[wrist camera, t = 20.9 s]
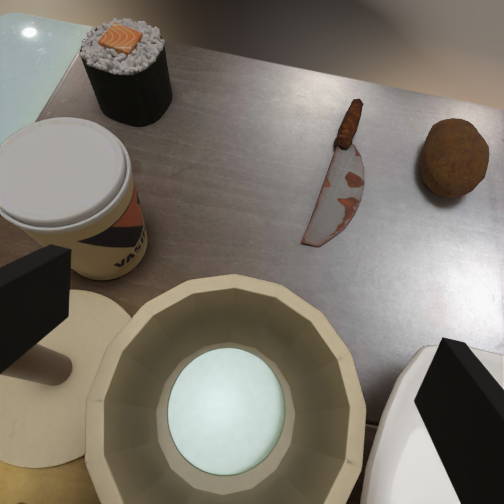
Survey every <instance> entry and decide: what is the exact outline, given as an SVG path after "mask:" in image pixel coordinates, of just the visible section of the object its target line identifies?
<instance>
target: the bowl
mask: <svg viewBox="0 0 504 504" xmlns="http://www.w3.org/2000/svg"><path fill="white" fill-rule="evenodd" d="M438 346H439V345H427V346H423V347H422V348H420V349H419V350H418V351H417V352H416V353H415V355H414V356H413V357H412V359H411V360H410V361H409V363H408V364H407V365H406V367H405V368H404V369H403V371H402V372H401V373H400V375H399V376H398V378H397V380H396V382H395V384H394V387H393V389H392V391H391V394H390V396H389V398H388V401H387V403H386V405H385V408H384V410H383V412H382V415H381V418H380V422H379V425H378V428H377V432H376V435H375V438H374V441H373V445H372V448H371V451H370V455H369V458H368V461H367V465H366V468H365V475H364V481H363V488H362V494H361V501H360V504H461V503H460V501H459V499H458V497H457V494H456V492H455V490H454V488H453V486H452V484H451V481H450V479H449V477H448V475H447V473H446V470H445V468H444V466H443V464H442V462H441V460H440V457H439V455H438V453H437V451H436V449H435V446H434V444H433V442H432V440H431V438H430V436H429V433H428V431H427V429H426V427H425V425H424V422H423V420H422V418H421V416H420V414H419V412H418V409H417V407H416V405H415V403H414V399H415V397H416V395H417V392H418V390H419V388H420V386H421V384H422V381H423V379H424V377H425V375H426V373H427V370H428V368H429V366H430V364H431V362H432V359H433V357H434V355H435V353H436V351H437V348H438ZM469 348H470V349H471V351H472V352H473V353H474V354H475V355H476V357H477V358H478V359H479V360H480V362H481V363H482V364H483V365H484V366H485V368H486V369H487V370H488V371H489V372H490V374H491V375H492V376H493V377H494V378H495V380H496V381H497V382H498V383H499V385H500V386H501V387H502V388H503V389H504V355H501V354H497V353H492V352H488V351H484V350H480V349H476V348H471V347H469Z"/></svg>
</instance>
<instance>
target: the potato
mask: <svg viewBox="0 0 504 504" xmlns="http://www.w3.org/2000/svg"><path fill="white" fill-rule="evenodd" d="M488 162H489V147H488V145H487V143H486V142H485V140H484V139H483V137H482V136H481V135H480V134H479V133H478V131H477V129H476V128H475V127H474V126H473V125H472V124H471V123H470V122H468V121H465V120H462V119H454V118H452V119H446V120H442V121H439V122H438V123H436V124H435V125H433V126H432V128H431V130H430V132H429V134H428V136H427V138H426V141H425V144H424V147H423V150H422V155H421V174H422V179H423V181H424V183H425V184H426V186H427V187H428V188H429V189H430V190H431V191H433V192H434V193H435V194H437V195H439V196H442V197H444V198H458V197H460V196H463V195H465V194H467V193H469V192H471V191H473V190H474V188H475V187H476V186H477V185H478V184H479V183H480V182H481V181H482V180H483V179H484V178H485V174H486V171H487V166H488Z"/></svg>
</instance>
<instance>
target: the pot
mask: <svg viewBox="0 0 504 504" xmlns="http://www.w3.org/2000/svg"><path fill="white" fill-rule="evenodd" d="M223 347H234V348H240V349H243V350H247V351H249V352H251V353H253V354H255V355H257V356H258V357H260V358H261V359H262V360H264V361H265V362H266V363H267V364H268V365H269V366H270V367H271V368H272V370H273V371H274V373H275V374H276V376H277V378H278V380H279V381H280V384H281V387H282V389H283V393H284V397H285V405H286V414H285V423H284V427H283V431H282V434H281V436H280V439H279V441H278V443H277V445H276V446H275V448H274V449H273V451H272V452H271V454H270V455H269V456H268V457H267V458H266V459H265V460H264V461H263V462H262V463H260V464H259V465H258V466H256V467H255V468H253V469H252V470H249V471H247V472H245V473H242V474H239V475H234V476H215V475H210V474H207V473H204V472H202V471H200V470H198V469H196V468H195V467H193V466H192V465H191V464H189V463H188V462H187V461H186V460H185V459H184V458H183V457H182V455H181V454H180V453H179V452H178V450H177V448H176V447H175V445H174V443H173V441H172V438H171V436H170V432H169V428H168V422H167V405H168V399H169V395H170V392H171V389H172V386H173V384H174V382H175V380H176V378H177V377H178V375H179V374H180V372H181V371H182V370H183V368H184V367H185V366H186V365H187V364H188V363H189V362H190V361H192V360H193V359H194V358H196V357H197V356H199V355H200V354H202V353H204V352H207V351H209V350H212V349H216V348H223ZM365 422H366V404H365V401H364V397H363V394H362V390H361V387H360V383H359V379H358V376H357V372H356V369H355V365H354V362H353V358H352V355H351V352H350V351H349V350H348V348H347V347H346V346H345V344H344V343H343V341H342V340H341V339H340V337H339V336H338V334H337V333H336V332H335V330H334V329H333V327H332V326H331V325H330V323H329V322H328V320H327V319H326V318H325V316H324V315H323V313H322V312H320V311H319V310H318V309H316V308H315V307H313V306H312V305H310V304H309V303H307V302H306V301H304V300H303V299H301V298H300V297H298V296H297V295H295V294H294V293H292V292H291V291H289V290H288V289H286V288H285V287H283V286H282V285H280V284H276V283H272V282H268V281H263V280H259V279H255V278H251V277H246V276H242V275H238V274H236V275H235V274H230V275H223V276H215V277H208V278H201V279H193V280H189V281H186V282H184V283H182V284H180V285H178V286H176V287H175V288H173V289H171V290H169V291H167V292H165V293H163V294H162V295H160V296H158V297H156V298H154V299H152V300H150V301H149V302H147V303H145V304H144V305H143V306H142V307H141V308H140V309H139V310H138V312H137V313H136V314H135V315H134V316H133V317H132V318H131V319H130V321H129V322H128V323H127V324H126V325H125V326H124V327H123V328H122V330H121V331H120V332H119V333H118V334H117V335H116V336H115V337H114V339H113V340H112V341H111V342H110V343H109V345H108V346H107V348H106V350H105V353H104V355H103V358H102V361H101V363H100V366H99V368H98V371H97V373H96V376H95V378H94V381H93V383H92V386H91V388H90V391H89V393H88V396H87V398H86V418H85V463H86V468H87V470H88V473H89V475H90V478H91V480H92V483H93V485H94V488H95V490H96V493H97V496H98V498H99V501H100V503H101V504H346V502H347V500H348V498H349V496H350V494H351V492H352V489H353V487H354V485H355V483H356V481H357V479H358V477H359V475H360V473H361V470H362V469H361V468H362V462H363V449H364V435H365Z"/></svg>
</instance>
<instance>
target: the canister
mask: <svg viewBox="0 0 504 504" xmlns="http://www.w3.org/2000/svg"><path fill="white" fill-rule="evenodd" d="M285 414H286V405H285V397H284V393H283V389H282V387H281V384H280V381H279V380H278V378H277V376H276V374H275V373H274V371H273V370H272V368H271V367H270V366H269V365H268V364H267V363H266V362H265V361H264V360H262V359H261V358H260V357H258V356H257V355H255V354H253V353H251V352H249V351H247V350H243V349H240V348H234V347H223V348H216V349H212V350H209V351H207V352H204V353H202V354H200V355H199V356H197V357H196V358H194V359H193V360H192V361H190V362H189V363H188V364H187V365H186V366H185V367H184V368H183V370H182V371H181V372H180V374H179V375H178V377H177V378H176V380H175V382H174V384H173V386H172V389H171V392H170V395H169V399H168V405H167V422H168V428H169V432H170V436H171V438H172V441H173V443H174V445H175V447H176V448H177V450H178V452H179V453H180V454H181V455H182V457H183V458H184V459H185V460H186V461H187V462H188V463H189V464H191V465H192V466H193V467H195V468H196V469H198V470H200V471H202V472H204V473H207V474H210V475H215V476H234V475H239V474H242V473H245V472H247V471H249V470H252V469H253V468H255V467H256V466H258V465H259V464H260V463H262V462H263V461H264V460H265V459H266V458H267V457H268V456H269V455H270V454H271V452H272V451H273V449H274V448H275V446H276V445H277V443H278V441H279V439H280V436H281V434H282V431H283V427H284V423H285Z"/></svg>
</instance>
